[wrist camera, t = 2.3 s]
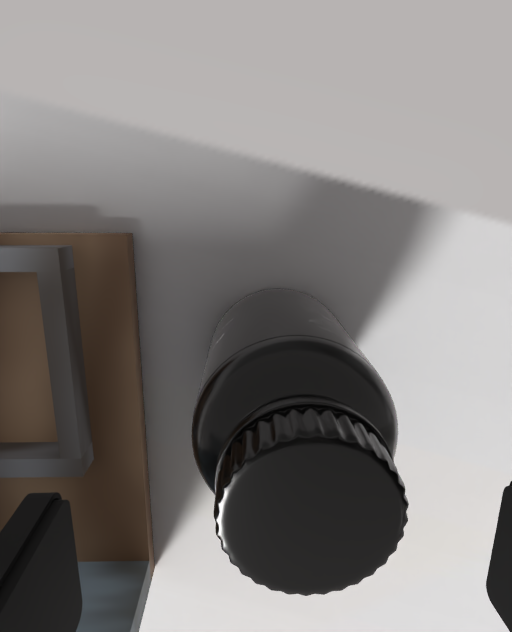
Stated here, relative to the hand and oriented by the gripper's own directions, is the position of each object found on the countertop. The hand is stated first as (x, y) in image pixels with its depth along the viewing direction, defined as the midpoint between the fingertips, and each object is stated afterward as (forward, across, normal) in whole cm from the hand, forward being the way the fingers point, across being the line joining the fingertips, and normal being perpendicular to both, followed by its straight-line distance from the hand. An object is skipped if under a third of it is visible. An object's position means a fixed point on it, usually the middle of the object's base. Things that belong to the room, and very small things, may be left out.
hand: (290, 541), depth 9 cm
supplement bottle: (+13, -1, 0) cm, 13 cm away
